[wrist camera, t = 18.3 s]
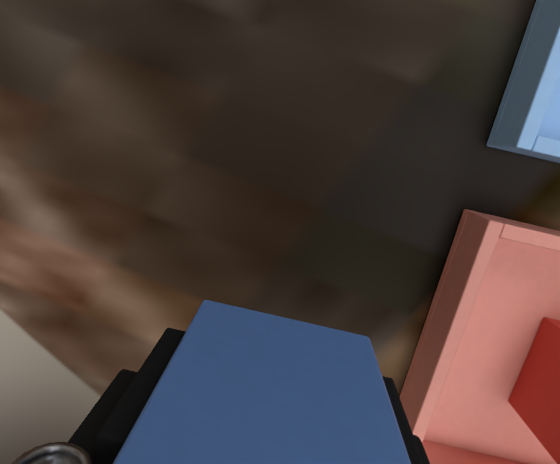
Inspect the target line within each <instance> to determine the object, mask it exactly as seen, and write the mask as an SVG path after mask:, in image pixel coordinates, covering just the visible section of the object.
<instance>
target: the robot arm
mask: <svg viewBox="0 0 560 464" xmlns="http://www.w3.org/2000/svg"><path fill="white" fill-rule="evenodd" d="M185 333H186V332H185V331H181V330H176V329H172V328H167V329H166V330H165V332H164V333H163V335H162V336H161V338H160V339H159V341H158V343H157V344H156V346H155V347H154V349H153V350H152V352H151V353H150V355H149V356H148V358H147V359H146V361H145V362H144V364H143V365H142V367H141V368H140V370H139V371H138V372H134V371H129V370H125V369H123V370H121V371H120V372H119V373H118V375H117V376H116V377H115V379H114V380H113V381H112V383H111V384H110V385H109V387H108V388H107V390H106V391H105V392H104V394H103V395H102V396H101V398H100V399H99V401H98V402H97V403H96V404H95V406H94V407H93V409H92V410H91V411H90V413H89V414H88V415H87V417H86V418H85V420H84V421H83V422H82V424H81V425H80V426H79V428H78V429H77V430H76V432H75V433H74V434H73V436H72V437H71V439H70V440H69V441H68V443H66V442H55V443H48V444H44V445H41V446H38V447H35V448H33V449H31V450H29V451H27V452H25V453H23V454H22V455H21V456H20V457H19V458H17V459H16V460H15V461H14V462H13V463H12V464H113V462H114V461H115V459H116V457H117V455H118V453H119V452H120V450H121V448H122V446H123V444H124V443H125V441H126V439H127V437H128V435H129V434H130V432H131V430H132V428H133V426H134V425H135V423H136V421H137V419H138V417H139V416H140V414H141V412H142V410H143V408H144V407H145V405H146V403H147V401H148V399H149V398H150V396H151V394H152V392H153V390H154V389H155V387H156V385H157V383H158V381H159V380H160V378H161V376H162V374H163V372H164V371H165V369H166V367H167V365H168V363H169V361H170V360H171V358H172V356H173V354H174V352H175V351H176V349H177V347H178V345H179V343H180V342H181V340H182V338H183V336H184V334H185ZM382 377H383V376H382ZM383 380H384V383H385V386H386V389H387V392H388V395H389V398H390V402H391V405H392V408H393V411H394V414H395V417H396V420H397V423H398V426H399V429H400V432H401V435H402V438H403V441H404V444H405V447H406V450H407V453H408V456H409V459H410V462H411V464H430V462H429V459H428V457H427V454H426V452H425V449H424V446H423V444H422V442H421V440H420V438H419V437H418V436H417V435H413V433H412V430H411V427H410V425H409V422H408V419H407V417H406V414H405V411H404V408H403V406H402V403H401V400H400V397H399V395H398V392H397V389H396V387H395V384H394V381H393V379H391V378H388V377H383Z"/></svg>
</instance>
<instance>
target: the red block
mask: <svg viewBox="0 0 560 464" xmlns="http://www.w3.org/2000/svg"><path fill="white" fill-rule="evenodd" d="M508 402H509V403H510V405H511V406H512V407H513V408H514V410H515V411H516V412H517V414H518V415H519V416H520V417H521V419H522V420H523V421H524V422H525V424H526V425H527V426H528V428H529V429H530V430H531V431H532V433H533V434H534V435H535V436H536V438H537V439H538V440H539V442H540V443H541V444H542V445H543V447H544V448H545V449H546V450H547V452H548V453H549V454H550V456H551V457H552V458H553V459H554V461H555V462H556V463H557V464H560V321H559V320H555V319H551V318H547V317H544V318H543V320H542V322H541V324H540V327H539V329H538V331H537V334H536V336H535V338H534V341H533V343H532V346H531V348H530V350H529V353H528V355H527V357H526V360H525V362H524V364H523V367H522V369H521V372H520V374H519V376H518V379H517V381H516V383H515V386H514V388H513V390H512V393H511V395H510V398H509V400H508Z"/></svg>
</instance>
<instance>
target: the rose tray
mask: <svg viewBox="0 0 560 464" xmlns="http://www.w3.org/2000/svg"><path fill="white" fill-rule="evenodd" d="M544 317H547V318H551V319H555V320H559V321H560V231H558V230H553V229H549V228H545V227H541V226H536V225H532V224H528V223H523V222H519V221H515V220H511V219H506V218H502V217H498V216H493V215H489V214H485V213H481V212H476V211H472V210H468V209H464V211H463V214H462V217H461V220H460V223H459V226H458V228H457V231H456V234H455V237H454V240H453V243H452V246H451V249H450V252H449V255H448V257H447V260H446V263H445V266H444V269H443V272H442V275H441V278H440V281H439V284H438V286H437V289H436V292H435V295H434V298H433V301H432V304H431V307H430V310H429V313H428V315H427V318H426V321H425V324H424V327H423V330H422V333H421V336H420V339H419V342H418V344H417V347H416V350H415V353H414V356H413V359H412V362H411V365H410V368H409V371H408V373H407V376H406V379H405V382H404V385H403V388H402V391H401V394H400V400H401V403H402V406H403V408H404V411H405V414H406V417H407V419H408V422H409V425H410V427H411V430H412V433H413V435H417V436H418V437H419V438H420V440H421V442H422V444H423V446H424V449H425V452H426V454H427V457H428V459H429V462H430V464H557V463H556V462H555V461H554V459H553V458H552V457H551V456H550V454H549V453H548V452H547V450H546V449H545V448H544V447H543V445H542V444H541V443H540V442H539V440H538V439H537V438H536V436H535V435H534V434H533V433H532V431H531V430H530V429H529V428H528V426H527V425H526V424H525V422H524V421H523V420H522V419H521V417H520V416H519V415H518V414H517V412H516V411H515V410H514V408H513V407H512V406H511V405H510V403H509V402H508V400H509V398H510V395H511V393H512V390H513V388H514V386H515V383H516V381H517V379H518V376H519V374H520V372H521V369H522V367H523V364H524V362H525V360H526V357H527V355H528V353H529V350H530V348H531V346H532V343H533V341H534V338H535V336H536V334H537V331H538V329H539V327H540V324H541V322H542V320H543V318H544Z"/></svg>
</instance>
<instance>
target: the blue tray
mask: <svg viewBox="0 0 560 464" xmlns="http://www.w3.org/2000/svg"><path fill="white" fill-rule="evenodd" d="M486 146H488V147H493V148H497V149H501V150H506V151H510V152H514V153H518V154H523V155H527V156H531V157H535V158H540V159H544V160H548V161H552V162H557V163H560V0H536V2H535V5H534V8H533V11H532V14H531V17H530V20H529V23H528V26H527V28H526V31H525V34H524V37H523V40H522V43H521V46H520V49H519V52H518V55H517V57H516V60H515V63H514V66H513V69H512V72H511V75H510V78H509V81H508V84H507V86H506V89H505V92H504V95H503V98H502V101H501V104H500V107H499V110H498V113H497V115H496V118H495V121H494V124H493V127H492V130H491V133H490V136H489V139H488V142H487V144H486Z"/></svg>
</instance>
